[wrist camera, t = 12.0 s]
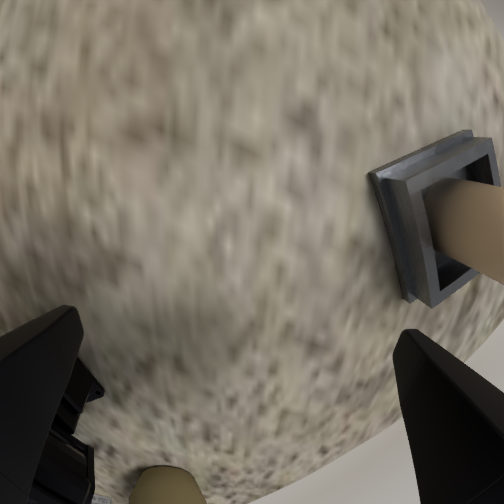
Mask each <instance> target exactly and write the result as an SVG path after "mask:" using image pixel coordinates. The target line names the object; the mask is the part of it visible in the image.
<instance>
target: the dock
mask: <svg viewBox="0 0 504 504" xmlns="http://www.w3.org/2000/svg"><path fill="white" fill-rule="evenodd" d="M369 174H370V177H371V180H372V183H373V186H374V189H375V192H376V196H377V199H378V202H379V205H380V209H381V212H382V215H383V219H384V222H385V226H386V229H387V233H388V236H389V240H390V244H391V248H392V252H393V256H394V260H395V264H396V268H397V272H398V276H399V281H400V285H401V290H402V295H403V299H405V300H406V301H407V302H409V303H411V302H413V301H414V300H416V299H417V298H418V299H419V300H420V301H422V302H423V303H425V304H426V305H427V306H429V307H430V308H431V309H432V308H433V307H435V306H436V305H438V304H439V303H441V302H442V301H443V300H445V299H446V298H447V297H449V296H450V295H451V294H453V293H454V292H456V291H457V290H458V289H460V288H461V287H462V286H463V285H465V284H466V283H467V282H469V281H470V280H471V279H472V278H474V277H475V276H476V275H477V274H479V273H480V272H478V271H476V270H474V269H472V268H470V267H468V266H467V265H465V264H463V263H461V262H459V261H457V260H455V259H452V258H450V257H448V256H446V255H444V254H442V253H440V252H438V251H436V250H434V249H433V243H432V238H431V233H430V228H429V223H428V219H427V214H426V210H425V206H424V201H423V200H424V197H425V195H426V193H427V191H428V190H429V188H430V187H431V186H432V185H433V184H434V183H435V182H437V181H439V180H441V179H443V178H444V177H452V178H458V179H463V180H469V181H474V182H479V183H484V184H489V185H494V186H498V187H501V184H500V178H499V172H498V166H497V161H496V156H495V151H494V146H493V142H492V138H484V137H473V133H472V130H462V131H460V132H457V133H455V134H453V135H451V136H448V137H446V138H444V139H442V140H439V141H437V142H435V143H433V144H430V145H428V146H426V147H424V148H421V149H419V150H417V151H415V152H412V153H410V154H408V155H406V156H403V157H401V158H399V159H397V160H395V161H392V162H390V163H388V164H386V165H384V166H382V167H379V168H377V169H375V170H373V171H371V172H369Z"/></svg>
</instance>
